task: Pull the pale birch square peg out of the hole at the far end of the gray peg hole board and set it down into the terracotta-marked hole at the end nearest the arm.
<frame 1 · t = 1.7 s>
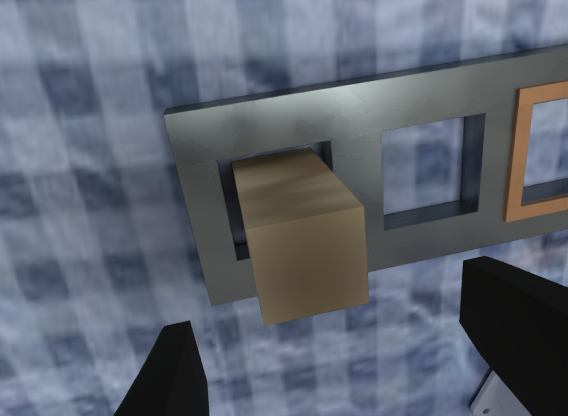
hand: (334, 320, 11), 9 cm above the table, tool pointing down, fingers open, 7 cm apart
gray peg hole board: (417, 164, 20), on the table
birch peg: (276, 190, 19), resting in gray peg hole board
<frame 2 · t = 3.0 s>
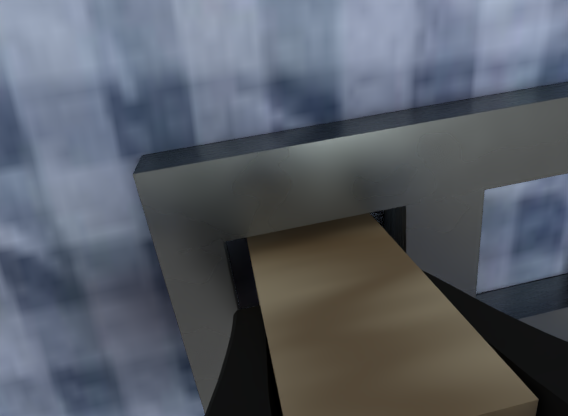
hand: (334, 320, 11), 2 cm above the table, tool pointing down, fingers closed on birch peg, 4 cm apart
gray peg hole board: (517, 227, 13), on the table
birch peg: (312, 270, 13), resting in gray peg hole board, touching gripper
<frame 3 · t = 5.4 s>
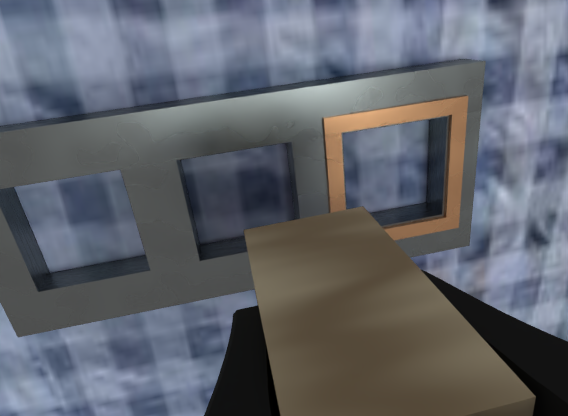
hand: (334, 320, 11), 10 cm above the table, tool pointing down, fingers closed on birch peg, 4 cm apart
gray peg hole board: (241, 191, 19), on the table
birch peg: (310, 269, 13), point 7 cm above the table, touching gripper
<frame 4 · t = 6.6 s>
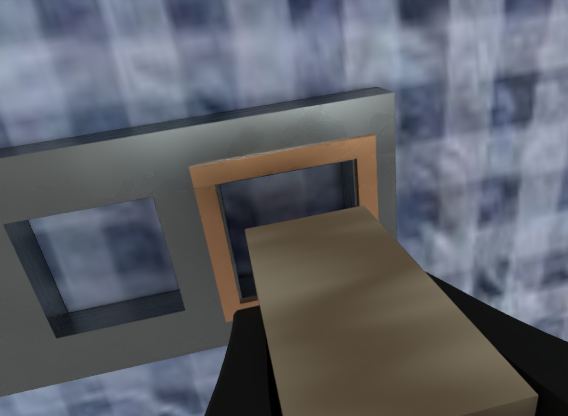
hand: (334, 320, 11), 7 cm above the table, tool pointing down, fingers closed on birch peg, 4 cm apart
gray peg hole board: (110, 250, 16), on the table
birch peg: (311, 268, 13), point 4 cm above the table, touching gripper
when the fingers open (3 cm above the table, at t = 7.7 s): birch peg drops 1 cm, resting in gray peg hole board.
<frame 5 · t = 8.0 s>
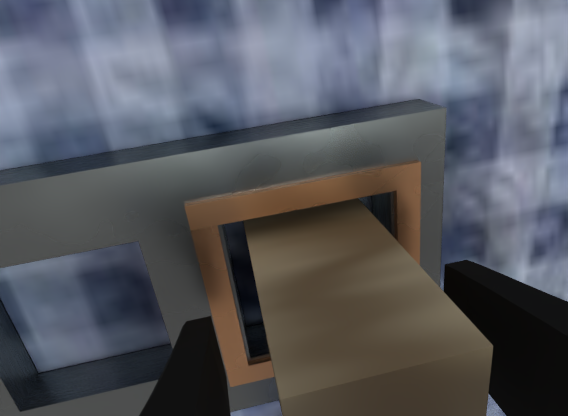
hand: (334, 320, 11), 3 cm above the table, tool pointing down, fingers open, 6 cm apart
gray peg hole board: (88, 300, 13), on the table
birch peg: (304, 252, 14), resting in gray peg hole board
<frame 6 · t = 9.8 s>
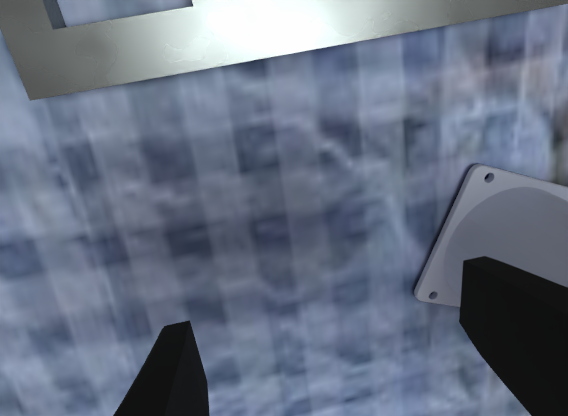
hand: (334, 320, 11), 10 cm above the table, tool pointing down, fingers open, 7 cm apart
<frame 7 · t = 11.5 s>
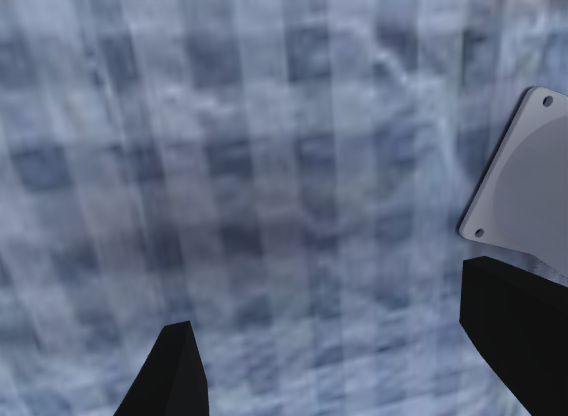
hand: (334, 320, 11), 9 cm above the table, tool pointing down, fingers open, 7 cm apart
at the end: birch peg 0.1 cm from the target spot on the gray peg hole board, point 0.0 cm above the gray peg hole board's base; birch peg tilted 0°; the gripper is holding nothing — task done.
